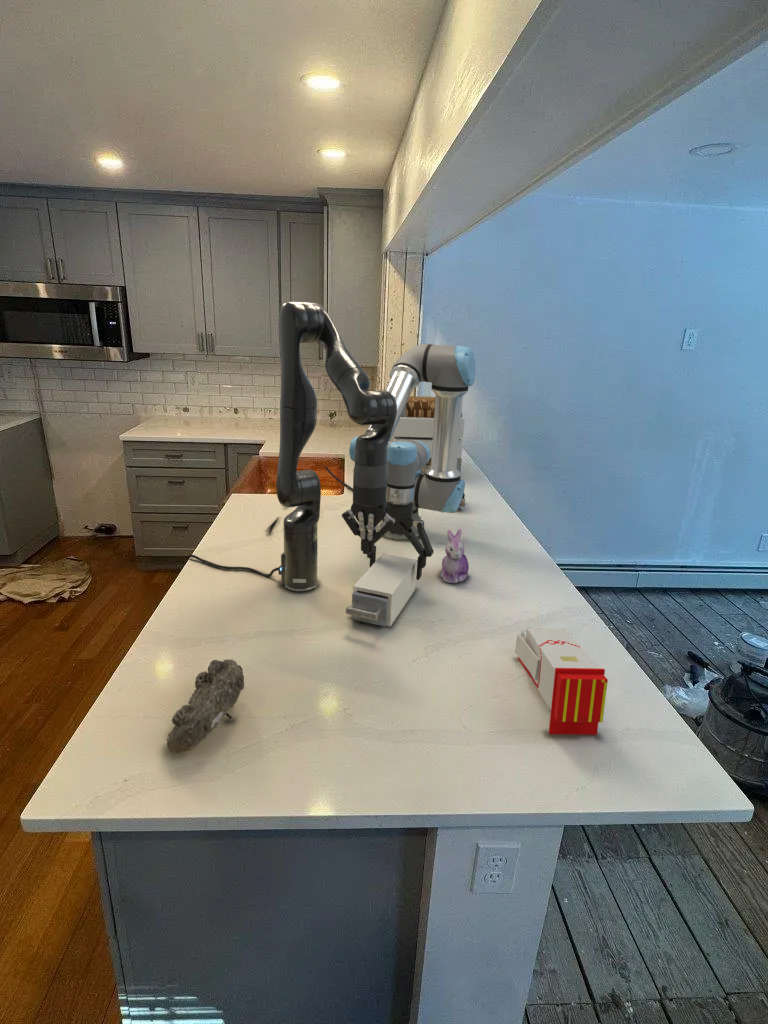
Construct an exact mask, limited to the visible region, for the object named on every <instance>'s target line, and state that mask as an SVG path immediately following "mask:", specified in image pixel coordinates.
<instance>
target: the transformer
mask: <svg viewBox="0 0 768 1024" xmlns="http://www.w3.org/2000/svg"><path fill="white" fill-rule="evenodd" d="M435 399H436V396H415V395H414V396H413V395H412V396H411V395H410V396H409V399H408V401H407V403H406V405H405V408H404V410H403V412H402V415H401V417H400V419H399V421H398V424H397V426H396V428H395V430H394V433H393V435H392V437H391V439H390V441H397V442H399V441H402V442H410V443H411V442H413V441H421V442H423V443H425V444H426V445H427V446H428V447H429V449H430V455H431V456H432V441H433V427H434V413H435ZM464 429H465V419H464V418H463V411H461V422H460V434H459V445H458V457H457V470H458V471H459V472H460V473H461V472H462V461H463V460H462V453H463V442H464V441H463V440H462V439H463V438H464V431H465V430H464ZM431 456H430V460H429V461H428V463H427V464H426V465H425V466H424V467H431Z"/></svg>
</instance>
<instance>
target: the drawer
mask: <svg viewBox="0 0 768 1024" xmlns="http://www.w3.org/2000/svg"><path fill="white" fill-rule="evenodd" d="M345 614H346V615H349V616H351V620H354V621H358V622H363V623H367V624H372V625H377V626H381V627H387V626H386V625H387V616H388V597H386V596H381V595H376V594H372V593H367V592H362V591H360V593H357V592H353V591H352V594H351V605H350V606H347V607H346V608H345Z"/></svg>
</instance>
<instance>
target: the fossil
mask: <svg viewBox="0 0 768 1024" xmlns="http://www.w3.org/2000/svg"><path fill="white" fill-rule="evenodd" d="M243 670H244V669H243V667H242V665H240V664H237V662H236V661H235V660H234V659H232V658H231V659H227V658H226V659H224V660H223V661H222V660H217V659H212V660H211V661H210V663H209V665H208V666H207V671H201V672H199V673H198V674H197V675H196V676H195V680H194V684H195V685H194V687H195V689H194V690H193V693H192V694H191V697H190V698H189V700H188V704H184V705H182V706H181V707H180V709H177V710H176V711H175V713H174V715H173V716H172V718H171V723H172V724H173V727H172V730H171V731H170V732H168V734H167V738H166V741H167V742H166V745H167V749H168V750H169V751H173V752H174V753H176V754H178V753H182V752H188V751H189V752H192V751H193V750H195V748H196V747H197V746H199V744H200V743H201V742H203V741H204V740H205V739H206V738H207V737H208V736H209V735H210V734H211V733H212V732H214V730H215V729H217V727H218V726H219V724H220V722H221V721H222V720H223V719H224V718H225V716H226V717H227V719H229V720H233V717H232V715H230V714H229V710H230V709H231V708H234V706H235V704H236V703H237V702H238V699H239V697H240V695H241V693H242V691H243V690H245V689H244V688H245V675H244V671H243Z"/></svg>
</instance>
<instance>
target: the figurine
mask: <svg viewBox="0 0 768 1024" xmlns="http://www.w3.org/2000/svg"><path fill="white" fill-rule="evenodd" d="M446 534H447V543H446V546H445V548H444V549H445V554H446V555H444V557H443V558H442V560H441V569H440V577H441V578H442V580H443V582H445V583H451V584H457V583H461V582H463V581H465V580H466V579H467V577H468V574H469V569H470V568H469V567H470V566H469V565H470V564H469V561H468V558H467V556H466V555H465V554H464V553H465V547H464V545H463V542H462V535H463V529H462V528H459V529H458V530H457V531H456V533H455V535H454V534H453V532H452V530H451V529H448V530H447V532H446Z"/></svg>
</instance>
